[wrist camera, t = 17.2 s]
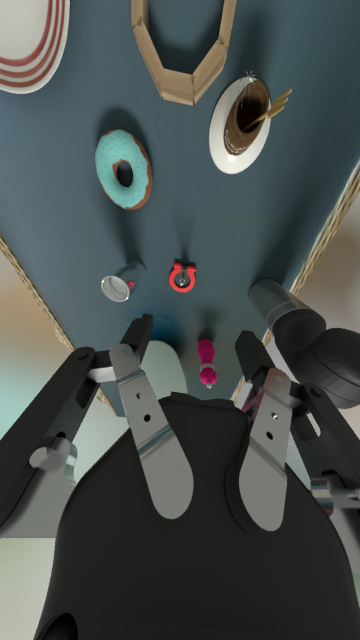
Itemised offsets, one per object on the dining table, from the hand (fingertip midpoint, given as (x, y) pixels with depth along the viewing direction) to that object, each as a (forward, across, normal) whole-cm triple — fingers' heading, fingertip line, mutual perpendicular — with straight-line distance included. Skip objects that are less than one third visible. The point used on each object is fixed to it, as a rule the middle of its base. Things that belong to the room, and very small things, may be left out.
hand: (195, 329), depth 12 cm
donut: (+34, +18, -13) cm, 41 cm away
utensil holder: (+34, -4, -22) cm, 40 cm away
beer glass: (+34, +17, +8) cm, 39 cm away
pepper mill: (+34, -13, +36) cm, 51 cm away
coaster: (+34, -4, -22) cm, 41 cm away
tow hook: (+34, +2, +8) cm, 35 cm away
